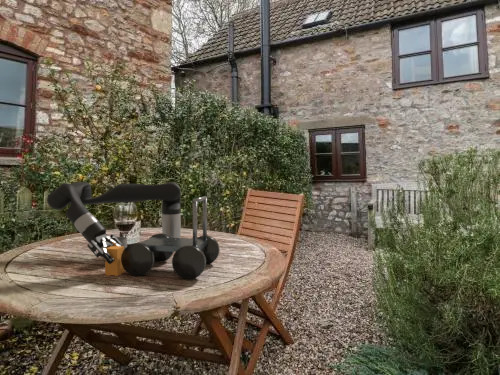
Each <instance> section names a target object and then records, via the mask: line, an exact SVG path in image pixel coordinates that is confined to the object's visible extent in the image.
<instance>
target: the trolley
mask: <svg viewBox="0 0 500 375" xmlns="http://www.w3.org/2000/svg"><path fill="white" fill-rule="evenodd" d="M200 202H202V235H200V236H198V203H200ZM191 203H192V238H190V237H189V238H188V237H187V238H186V237H181V238H170V237H169V236H168V235H166V234H163V233H162V232H161V233H160V232H159V233H155V234H153V235H152V236H150V237H149V238H148V239H145V240H142V241H141V242H134V243H132V244H129V245H127V247H126V248H125V249H124V251H123V252H122V255H121V263H122V266H123V268H124V272H126V273H127V274H128V275H130V276H134V277H141V276H144V275H145V274H147V273H149V272H150V271H151V270H152V268H153V267H154V264H155V262H157V263H164V262H166V261H168V260H169V259H171V257H172V259H171V266H172V269H173V271H174V272H175V274H176V275H177V277H179V278H181V279H184V280H187V281H191V280H195V279H198V277H200V276H201V275H202V273H203V272H204V271H205V270H206V267H207V265H210V264H212V263H214V262H215V261H216V260H217V259H218V257H219V256H220V250H221V248H220V245H219V243H218V241H217V240H216V238H214V237H213V236H211V235H208V227H207V226H208V217H207V216H208V197H207V196H206V195H205V196H200V197H196V198H195V197H194V198H193V199H191Z"/></svg>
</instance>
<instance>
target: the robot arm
mask: <svg viewBox="0 0 500 375" xmlns="http://www.w3.org/2000/svg"><path fill="white" fill-rule="evenodd" d="M181 193H182V191H181V187H180V185H178V183H176V182H174V181H171V182H170V181H169V182H166V183H162V184H161V183H160V184H142V183H120V184H117V185H115V186H114V187H112V188H111V189H109V190H108V191H105V192H104V193H102V194H100V195H98V196H96V197H92V186H91V184H90V183H89V182H87V181H76V182H75V181H74V182H71V183H67V182H66V183H62V184H61V185H60V186H58V187H56V189H55V190H53V191H52V192H51V193H49V194H48V195H47V197H46V202H47V205H48V206H49V207H50V208H51V209H54V210H58V211H59V210H63V209H65V208H67V206H69V207H68V208H67V210H66V212H65V215H66V218H67V219H68V220H69V222H71V223H72V225H74V227H75V228H76V230H77V231H78V232H79V233H80V235H82V237H83V238H84V239H85V240H86V242H88V243H87V244H86V247H87V248H88V249H89V250H90V252H92V253H93V255H94V256H95V257H96V258H99V257H101V258H103V259H104V261H105V260H106V261H107V262H108V263H109V264H111V263H112V262H113V261H114V259H113V258H112V256H111V255H110V254H109V253H107V250H106V248H108V247H111V246H122V243H121V242H120V241H119V240H118V239H117V237H118V236H116V235H115V234H114V233H112V234H110V235H108V234H107V228H106V227H105V226H104V225H103V224H102V223H101V222H100V221H99V220H98V218H96V216H94V215H93V214H92V213H91V211H89V209H88V208H87V207H86V206H88V205H98V204H114V203H116V204H117V203H119V204H121V203H123V204H124V203H138V202H139V203H140V202H147V201H155V200H156V201H161V233H163V234H166V235H168V236H169V237H170V238H182V237H181V230H182V229H181V228H182V226H181V223H182V221H181V220H182V219H181V213H182V212H181V209H182V208H181V207H182V206H181V204H182V203H181V196H182V195H181ZM116 242H117V243H118V244H117V243H116Z"/></svg>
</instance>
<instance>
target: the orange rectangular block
mask: <svg viewBox="0 0 500 375" xmlns="http://www.w3.org/2000/svg"><path fill="white" fill-rule="evenodd" d="M106 250H107V253H109V254H110V255H111V256H112V258H113V259H114V261H113V262H112V263H111V264H109V263H108V262H107V261H106V260H105V259H104V262H105V263H104V266H105V268H104V270H105V272H104V274H105V276H110V275H115V276H114V277H119V276H120V275H122V274H124V273H125V270H124V268H123V266H122V263H121V255H122V252H123V251H124V246H111V247H108V248H106ZM118 275H119V276H118Z"/></svg>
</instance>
